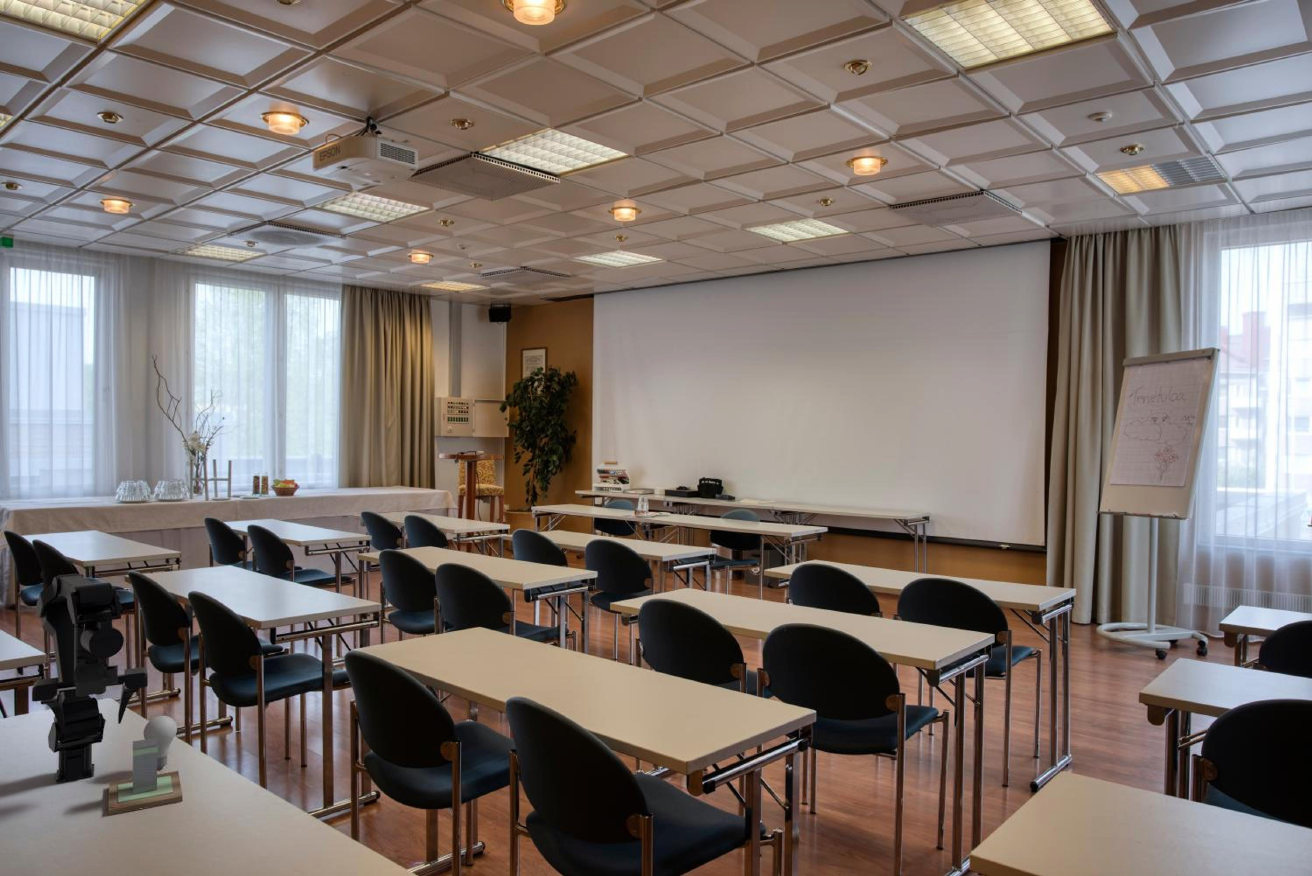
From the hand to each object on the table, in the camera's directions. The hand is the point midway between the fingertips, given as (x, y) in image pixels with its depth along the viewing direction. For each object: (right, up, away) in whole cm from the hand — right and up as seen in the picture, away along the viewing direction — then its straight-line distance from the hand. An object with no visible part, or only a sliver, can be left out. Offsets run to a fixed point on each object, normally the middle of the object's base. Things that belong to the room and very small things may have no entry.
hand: (91, 727), depth 168 cm
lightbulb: (+6, -13, +12) cm, 19 cm away
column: (+11, -12, 0) cm, 16 cm away
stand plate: (+11, -13, 0) cm, 17 cm away
